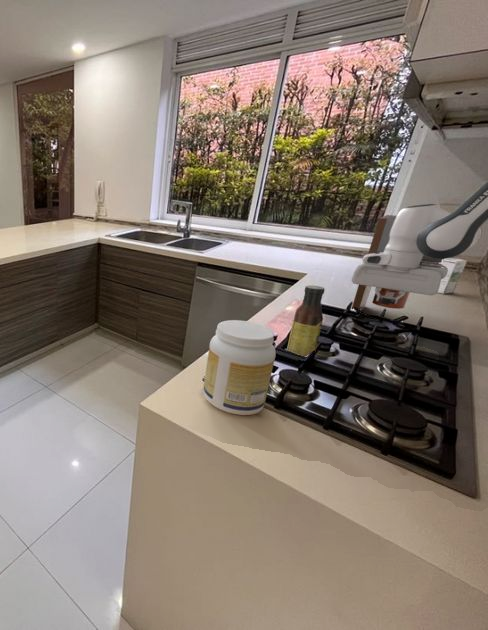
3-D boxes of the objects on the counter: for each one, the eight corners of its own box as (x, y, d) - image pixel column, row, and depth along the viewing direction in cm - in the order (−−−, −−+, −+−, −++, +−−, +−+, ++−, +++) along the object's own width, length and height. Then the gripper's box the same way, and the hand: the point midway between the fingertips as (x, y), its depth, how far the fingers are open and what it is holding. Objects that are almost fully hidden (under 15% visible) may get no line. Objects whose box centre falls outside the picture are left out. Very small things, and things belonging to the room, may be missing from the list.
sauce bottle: (317, 364, 88) (337, 291, 81) (291, 362, 89) (309, 290, 82) (305, 353, 94) (323, 284, 87) (281, 351, 95) (297, 283, 88)
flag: (420, 317, 119) (459, 217, 108) (416, 330, 108) (459, 221, 96) (358, 305, 132) (386, 215, 120) (348, 317, 120) (378, 218, 108)
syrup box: (437, 289, 151) (449, 257, 145) (453, 293, 145) (467, 260, 140) (427, 290, 149) (439, 258, 144) (443, 294, 144) (457, 260, 139)
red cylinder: (405, 304, 118) (412, 286, 116) (398, 319, 105) (406, 299, 103) (374, 299, 124) (380, 281, 122) (363, 312, 111) (370, 293, 108)
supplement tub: (274, 403, 72) (292, 331, 66) (244, 425, 66) (261, 347, 60) (221, 379, 82) (233, 314, 76) (190, 396, 75) (200, 326, 69)
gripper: (450, 263, 98) (432, 307, 103) (360, 253, 112) (348, 293, 117) (450, 266, 94) (431, 312, 99) (357, 256, 108) (345, 297, 113)
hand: (386, 302), depth 108 cm, fingers closed on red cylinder
